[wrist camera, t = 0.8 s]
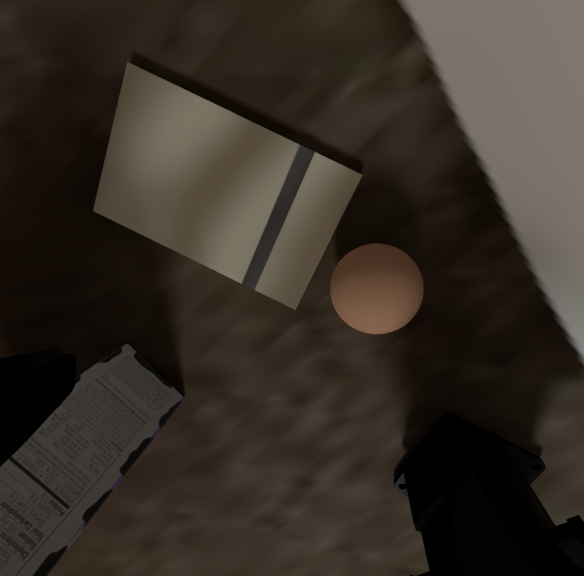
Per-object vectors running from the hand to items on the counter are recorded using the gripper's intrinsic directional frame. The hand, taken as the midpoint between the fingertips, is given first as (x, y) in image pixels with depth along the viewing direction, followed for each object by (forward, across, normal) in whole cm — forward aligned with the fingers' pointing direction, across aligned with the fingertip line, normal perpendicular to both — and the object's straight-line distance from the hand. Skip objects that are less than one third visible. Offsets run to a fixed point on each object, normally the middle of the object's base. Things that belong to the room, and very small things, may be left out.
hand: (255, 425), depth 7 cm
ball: (+12, -3, -1) cm, 13 cm away
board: (+12, +6, -4) cm, 14 cm away
